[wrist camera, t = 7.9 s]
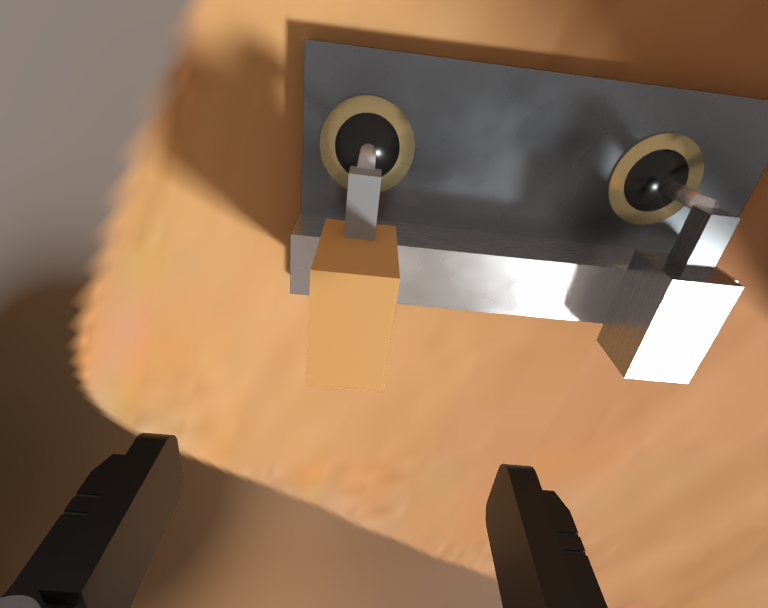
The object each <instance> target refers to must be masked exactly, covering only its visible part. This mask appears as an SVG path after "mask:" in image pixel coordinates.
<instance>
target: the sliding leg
mask: <svg viewBox="0 0 768 608" xmlns="http://www.w3.org/2000/svg"><path fill="white" fill-rule="evenodd" d="M375 159H376V149H375V147H374V146H373V145H372V144H369V143H367V144H364V145H363V146H362V147H361V149H360V154H359V159H358V164H357V167H356V166H351V167H350V171H349V178H348V191H347V204H346V218H345V221H342V220H332V219H326V221H325V224H324V227H323V230H322V234H321V237H320V240H319V243H318V247H317V250H316V253H315V256H314V259H313V263H312V266H311V269H310V292H309V320H308V348H307V377H306V386H313V387H325V388H337V389H349V390H361V391H373V392H383V391H384V384H385V377H386V371H387V364H388V357H389V350H390V344H391V337H392V330H393V323H394V317H395V310H396V303H397V297H398V290H399V283H400V271H399V259H398V247H397V236H396V226H389V225H379V224H376V223H377V214H378V205H379V196H380V187H381V178H382V174H381V169H375Z"/></svg>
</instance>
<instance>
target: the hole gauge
mask: <svg viewBox="0 0 768 608" xmlns="http://www.w3.org/2000/svg"><path fill="white" fill-rule="evenodd" d="M367 143H369V144H372V145H373V146H374V147H375V149H376V159H375V169H381V174H382V178H381V187H380V196H379V205H378V214H377V223H376V224H379V225H389V226H396V236H397V247H398V259H399V271H400V283H399V290H398V297H397V303H396V304H405V305H415V306H426V307H436V308H447V309H457V310H468V311H478V312H489V313H499V314H509V315H520V316H530V317H541V318H551V319H562V320H572V321H582V322H593V323H603V326H602V329H601V331H600V333H599V336H598V338H597V341H598V343H599V344H600V345H601V347H602V348H603V349H604V351H605V352H606V354H607V355H608V356H609V358H610V359H611V360H612V362H613V363H614V365H615V366H616V367H617V369H618V370H619V371H620V373H621V374H622V375H623V377H624V378H630V379H641V380H652V381H664V382H675V383H686V384H688V382H689V381H690V379H691V377H692V375H693V374H694V372H695V370H696V369H697V367H698V365H699V363H700V362H701V360H702V358H703V357H704V355H705V353H706V352H707V350H708V348H709V346H710V345H711V343H712V341H713V340H714V338H715V336H716V334H717V333H718V331H719V329H720V328H721V326H722V324H723V322H724V321H725V319H726V317H727V316H728V314H729V312H730V311H731V309H732V307H733V305H734V304H735V302H736V300H737V299H738V297H739V295H740V293H741V292H742V290H743V288H744V287H743V286H742V285H740V284H739V283H738V280H736V279H735V278H733V277H732V276H730V275H729V274H727V273H726V272H724V271H723V270H721V269H720V268H718V267H717V266H716V264H717V262H718V260H719V258H720V257H721V255H722V253H723V251H724V249H725V247H726V245H727V243H728V242H729V240H730V238H731V236H732V234H733V232H734V230H735V228H736V227H737V225H738V223H739V221H740V219H741V218H740V217H739V215H740V213H741V211H742V210H743V208H744V206H745V204H746V202H747V200H748V198H749V196H750V194H751V193H752V191H753V189H754V187H755V185H756V183H757V181H758V179H759V178H760V176H761V174H762V172H763V170H764V168H765V166H766V164H767V163H768V100H764V99H756V98H748V97H741V96H733V95H726V94H718V93H710V92H703V91H695V90H688V89H680V88H673V87H665V86H657V85H650V84H642V83H635V82H627V81H619V80H612V79H604V78H597V77H589V76H581V75H574V74H566V73H559V72H551V71H543V70H536V69H528V68H521V67H513V66H506V65H498V64H490V63H483V62H475V61H468V60H460V59H452V58H445V57H437V56H430V55H422V54H414V53H407V52H399V51H392V50H384V49H376V48H369V47H361V46H354V45H346V44H339V43H331V42H323V41H316V40H308V39H305V57H304V102H303V147H302V191H301V213H300V216H299V218H298V220H297V222H296V224H295V226H294V228H293V230H292V233H291V247H290V294H301V295H309V292H310V269H311V266H312V263H313V259H314V256H315V253H316V250H317V247H318V243H319V240H320V237H321V234H322V230H323V227H324V224H325V221H326V219H332V220H342V221H345V218H346V204H347V191H348V178H349V171H350V167H351V166H356V167H357V164H358V159H359V154H360V149H361V147H362V146H363V145H364V144H367Z"/></svg>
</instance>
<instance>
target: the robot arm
mask: <svg viewBox="0 0 768 608" xmlns="http://www.w3.org/2000/svg"><path fill="white" fill-rule="evenodd" d="M182 488H183V472H182V466H181V460H180V454H179V448H178V442H177V438H176V437H175V436H174V435H163V434H152V433H141V434H140V435H138V436H137V438H136V439H135V441H134V442H133V444H132V445H131V447H130V448H129V450H128V451H127V453H126V454H125V455H119V454H112V455H111V456H110V457H109V458H108V459H106V460H105V461H104V462H102V463H101V464H100V465H99V466H98V467H96V468H95V469H94V470H92V471H91V473H90V474H89V475H88V477H87V478H86V480H85V481H84V483H83V484H82V485H81V487H80V488H79V490H78V491H77V494H76V496H75V497H73V498H72V500H71V501H70V503H69V504H68V505H67V507H66V508H65V510H64V514H63V515H60V517H59V518H58V520H57V521H56V523H55V524H54V525H53V527H52V528H51V530H50V531H49V533H48V534H47V536H46V537H45V538H44V540H43V541H42V543H41V544H40V545H39V547H38V548H37V550H36V551H35V553H34V554H33V556H32V557H31V558H30V560H29V561H28V563H27V564H26V565H25V567H24V568H23V570H22V571H21V573H20V574H19V575H18V577H17V578H16V580H15V581H14V583H13V584H12V585H11V586H10V588H9V589H8V590H7V591H6V593H4V595H3V596H2V597H1V598H0V608H130V607H131V604H132V602H133V600H134V598H135V596H136V594H137V592H138V589H139V587H140V585H141V583H142V580H143V578H144V576H145V574H146V572H147V570H148V568H149V565H150V563H151V561H152V559H153V557H154V555H155V552H156V550H157V548H158V546H159V544H160V541H161V539H162V537H163V535H164V533H165V531H166V528H167V526H168V524H169V522H170V520H171V518H172V515H173V513H174V511H175V509H176V507H177V505H178V502H179V500H180V496H181V493H182ZM486 527H487V532H488V537H489V542H490V547H491V552H492V557H493V561H494V566H495V571H496V576H497V581H498V585H499V591H500V596H501V600H502V605H503V608H608V607H607V605H606V602H605V600H604V597H603V595H602V592H601V589H600V587H599V584H598V582H597V579H596V577H595V574H594V572H593V569H592V567H591V564H590V561H589V559H588V556H586V555H585V549H584V546H583V544H582V541H581V538H580V537H578V531H577V528H576V526H575V523H574V521H573V518H572V515H571V513H570V511H569V509H568V508H567V507H566V506H565V504H564V503H563V502H562V501H561V499H560V498H559V497H558V496H557V494H556V493H555V492H554V491H547V490H542V488H541V485H540V482H539V479H538V477H537V474H536V471H535V470H534V468H533V467H531V466H520V465H508V464H501V465H500V467H499V469H498V472H497V475H496V478H495V481H494V484H493V486H492V489H491V492H490V495H489V498H488V501H487V505H486Z"/></svg>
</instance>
